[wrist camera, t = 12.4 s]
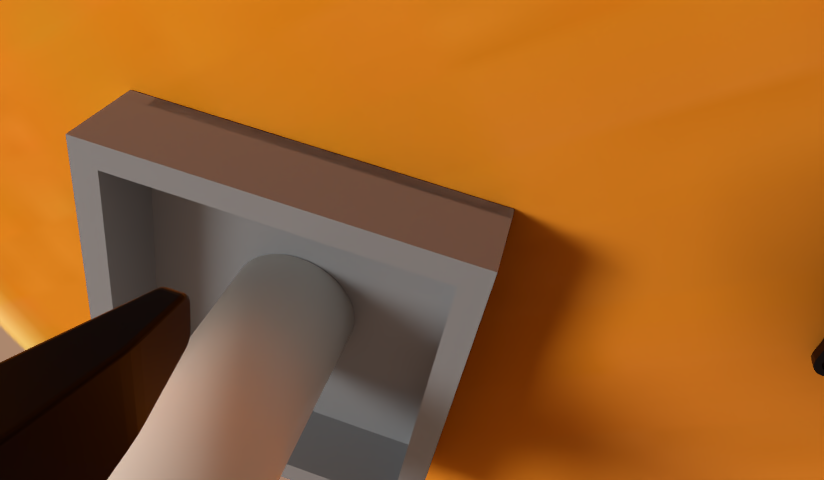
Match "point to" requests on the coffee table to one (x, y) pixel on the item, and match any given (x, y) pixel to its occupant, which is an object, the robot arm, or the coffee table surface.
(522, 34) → the coffee table surface
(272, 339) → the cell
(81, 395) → the robot arm
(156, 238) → the bin
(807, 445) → the coffee table surface
